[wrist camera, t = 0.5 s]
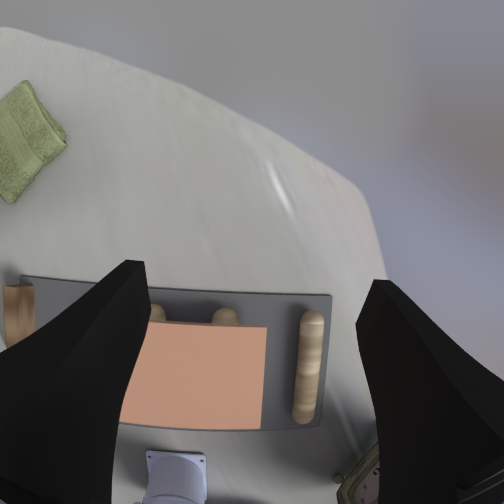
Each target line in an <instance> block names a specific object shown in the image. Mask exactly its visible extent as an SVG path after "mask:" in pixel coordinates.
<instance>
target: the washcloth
mask: <svg viewBox="0 0 504 504" xmlns="http://www.w3.org/2000/svg"><path fill="white" fill-rule="evenodd" d="M65 137H66V132H65V131H63V129H62V126H60V125H59V123H57V122H56V120H54V119H53V118H52V117H51V115H50V114H49V113H48V111H46V110H45V108H44V107H43V105H42V103H41V102H40V101H39V99H38V98H37V96H36V94H35V92H34V89H33V88H32V86H31V84H30V83H29V81H28V80H24V81H22V82H21V83H20V84H19V85H17V86H16V87H15V88H14V89H13V90H12V91H11V92H10V93H9V94H7V95H6V96H5V97H4V98H3V99H1V100H0V194H1V196H2V197H3V199H4V200H5V201H7V202H8V205H9V204H13V203H14V202H15V201H16V199H17V198H18V197H19V196H20V194H21V193H22V192H23V190H24V189H25V188H26V187H27V186H28V184H30V183H31V182H32V181H33V179H34V176H35V175H36V174H37V173H38V172H39V171H40V170H41V169H42V167H43V166H44V165H45V164H49V163H50V162H51V161H52V158H54V157H56V155H58V154H59V153H60V152H61V151H63V150H64V149H65V147H66V145H67V143H66V140H65Z"/></svg>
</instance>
